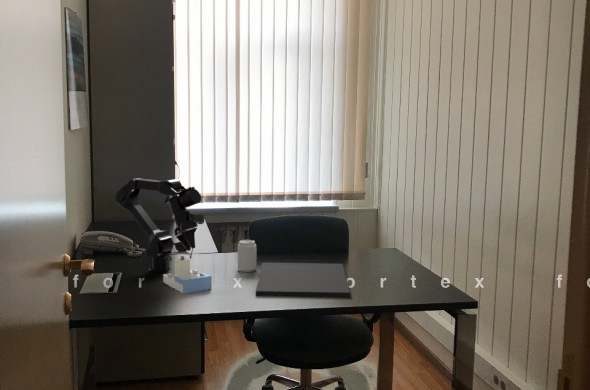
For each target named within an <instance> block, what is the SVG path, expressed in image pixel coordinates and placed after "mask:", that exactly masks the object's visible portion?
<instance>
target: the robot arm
mask: <svg viewBox="0 0 590 390" xmlns="http://www.w3.org/2000/svg"><path fill="white" fill-rule="evenodd" d="M142 190H147V191H153V192H154V191H156V192H158V193H160V194H162V195H164V196H166V198H165V199H164V202H163V203H164V204H169V208H170V211H171V213H172V216H171V218H172V219H173V220H174V223H175V226H174V229H173V231H172V232H173V236H174V237H175V239H177V240H178V242H181V243H182V244H183V246H184V247H185V248H186V249H187V252H190V251H192V248H193V249H196V238H195V237H196V236H195V233H196V231H197V229H198V226H199V225H203V224H204V223H205V214H199V213H197V214H196V213H191V212H190V210H188V209H187V208H190V207H192V206H194V205H197V204H199V203H201V202H202V195H201V193H200V191H198V190H197V189H196V188H195V186H189V187H188V188H187V187H186V186H185V185H184V184H182V183H181V181H180V180H179V179H177V178H175V179H167V180H156V179H150V178H149V179H148V178H142V177H138V178H131V179H130V180H129V181H128V182H127V183H126V184H125V185H123V186H122V187H120V189H119V190H118V191H116V193H115V202H116V203H117V204H118V205H119V206H120V207H121V208H123V209H125V210H127V211H129V213H130V214H131V215H132V216H133V218H134V219H135V221H136V222H137V224H138V225H139V226H140V227H141V228H142V229H143V231H144V233H145V234H146V235H147V237H148V241H149V246H150V247H149V248H148V249H147V250H146V254H147V257H148V258H149V257H150V268H149V269H147V270H148V272H153V273H164V272H167V271H169V270H171V267H170V259H169V257H168V255H167V254H169V255H172V250H173V249H172V248H174V245H173V243H175V242H174V240H173V236H171V235H170V234H169V232H168V230H160V228H158V226H157V224H155V222H154V221H153V220H152V218H151V217H150V215H149V214H148V213H147V211H145V210H144V208H143V207H142V205H141V204H140V196H139V195H140V194H141V191H142ZM190 246H191V247H192V248H191V247H190Z"/></svg>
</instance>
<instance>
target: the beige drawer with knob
mask: <svg viewBox="0 0 590 390" xmlns="http://www.w3.org/2000/svg"><path fill="white" fill-rule="evenodd" d="M190 270H191V259H190V258H187V257H185V256H184V255H181V256H180V258H177V259H174V277H176V276H177V277H179V278H181V279H189V278H190Z"/></svg>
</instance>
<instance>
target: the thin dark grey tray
mask: <svg viewBox="0 0 590 390" xmlns="http://www.w3.org/2000/svg"><path fill="white" fill-rule="evenodd" d="M345 271H346V270H345V268H344V265H343V263H319V262H318V263H316V262H315V263H311V262H310V263H309V262H308V263H305V262H262V264H261V268H260V272H259V276H258V280H257V284H256V289H255V297H280V298H281V297H287V298H288V297H291V298H292V297H293V298H294V297H295V298H298V297H299V298H343V299H344V298H346V299H347V298H351V291H350V286H349V283H348V279H347V277H346V272H345Z"/></svg>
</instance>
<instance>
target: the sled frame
mask: <svg viewBox="0 0 590 390" xmlns="http://www.w3.org/2000/svg"><path fill="white" fill-rule="evenodd" d="M198 273H199V274H198ZM162 277H163V283H164V284H166V285H168V286H169V287H171V288H172V287H173V288H172V289H174V288H175V289H174V290H175V291H177V290H178V291H177V292H179V291H180V292H179V293H181V292H182V293H181V294H182V295H185V294H184V293H187V294H191V293H190V292H193V293H197V291H198V292H203V291H202V290H204V291H209V290H208V289H210V290H212V288H213V287H212V286H213V285H212V283H213V282H212V280H213V279H212V275H210V274H209V275H208V274H206V273H204V272H199V271H198V270H196V269H192V270H191V269H190V278H189V279H181V278H179V277H177V276H176V277H175V276H173V274H172V273H170V272H169V273H167V274H166V273H165V274H163V275H162Z"/></svg>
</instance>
